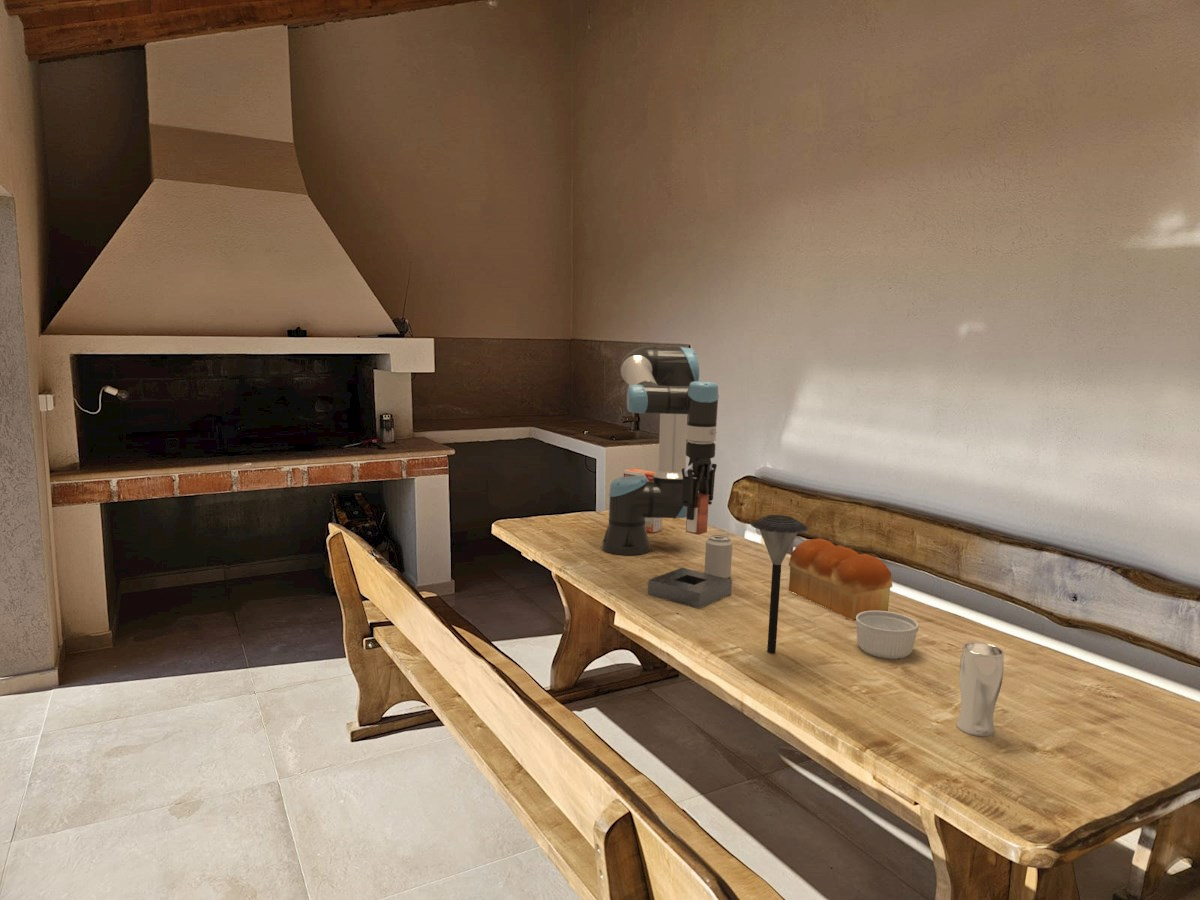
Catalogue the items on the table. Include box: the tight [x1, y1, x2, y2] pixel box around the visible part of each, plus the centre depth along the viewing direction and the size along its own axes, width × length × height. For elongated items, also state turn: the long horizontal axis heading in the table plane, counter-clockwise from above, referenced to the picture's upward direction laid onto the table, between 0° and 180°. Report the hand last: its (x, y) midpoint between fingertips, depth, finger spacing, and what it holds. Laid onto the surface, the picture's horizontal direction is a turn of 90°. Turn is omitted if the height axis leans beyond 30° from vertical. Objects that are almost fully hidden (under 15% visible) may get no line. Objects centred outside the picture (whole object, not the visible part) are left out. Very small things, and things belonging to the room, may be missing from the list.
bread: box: [788, 537, 893, 621], centre depth 212 cm, size 25×12×15 cm, turn 27°
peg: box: [685, 492, 709, 536], centre depth 212 cm, size 4×4×10 cm
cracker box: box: [623, 467, 663, 534], centre depth 286 cm, size 14×6×21 cm, turn 50°
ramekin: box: [854, 610, 919, 660], centre depth 181 cm, size 13×13×7 cm
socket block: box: [647, 567, 733, 609], centre depth 215 cm, size 16×16×4 cm
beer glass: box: [956, 641, 1005, 738], centre depth 144 cm, size 7×7×15 cm
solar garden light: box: [750, 514, 809, 654], centre depth 176 cm, size 12×12×30 cm
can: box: [703, 533, 733, 579], centre depth 231 cm, size 8×8×12 cm
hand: (696, 529), depth 212 cm, fingers closed on peg, 4 cm apart
